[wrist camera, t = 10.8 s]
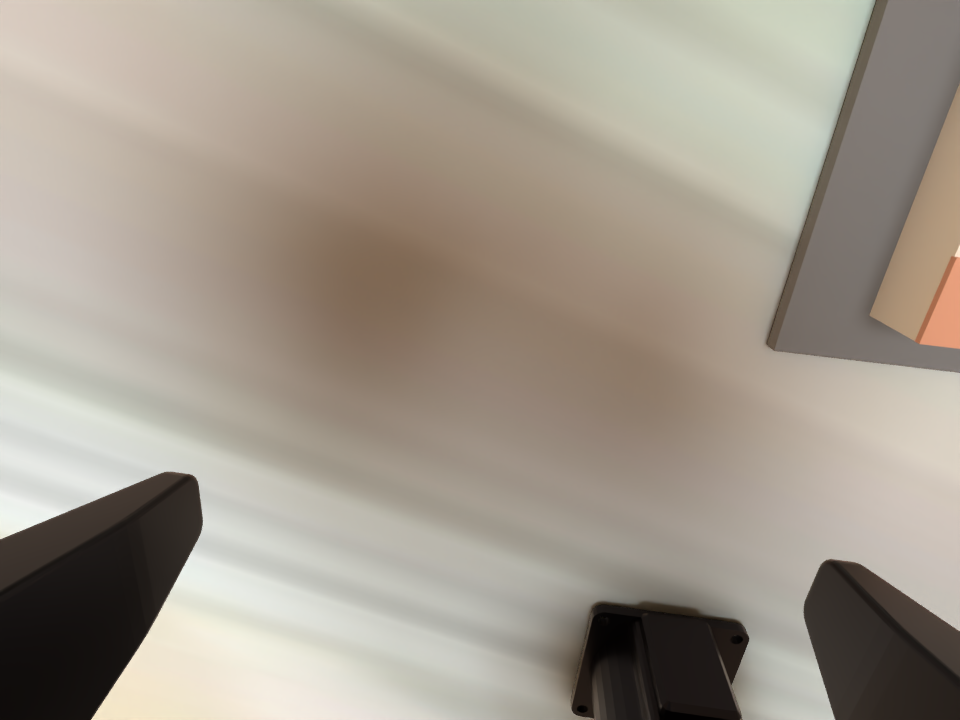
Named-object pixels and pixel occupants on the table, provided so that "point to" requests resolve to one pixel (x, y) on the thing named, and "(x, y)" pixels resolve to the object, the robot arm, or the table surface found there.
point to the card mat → (873, 189)
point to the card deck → (929, 252)
